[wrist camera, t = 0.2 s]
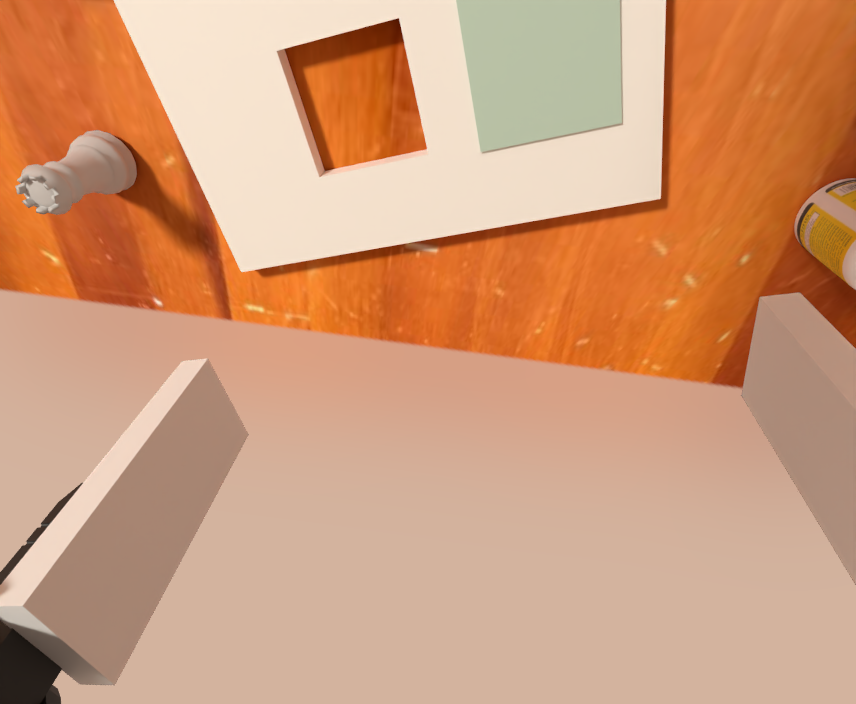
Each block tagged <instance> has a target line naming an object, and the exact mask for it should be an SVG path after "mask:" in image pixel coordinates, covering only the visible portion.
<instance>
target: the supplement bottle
mask: <svg viewBox="0 0 856 704" xmlns="http://www.w3.org/2000/svg"><path fill="white" fill-rule="evenodd" d="M794 231H795V235H796V238H797V240H798V242H799V243H800V244H801V245H802V246H803V247H804V248H805V249H806V250H807V251H808V252H810V253H811V254H812V255H813V256H814V257H815V258H817V259H818V260H819V261H820V262H821V263H823V264H824V265H825V266H826V267H827V268H829V269H830V270H831V271H832V272H834V273H835V274H836V275H837V276H839V277H840V278H841V279H842V280H844V281H845V282H846V283H847V284H848V285H849V286H851V287H852V288H854V289H855V290H856V178H848V179H842V180H838V181H835V182H832V183H830V184H828V185H826V186H824V187H822V188H821V189H819V190H818V191H816V192H815V193H814V194H813V195H812V196H810V197H809V198H808V199H807V201H806V202H805V203H804V204H803V206H802V207H801V209H800V210H799V212H798V214H797V217H796V219H795V224H794Z"/></svg>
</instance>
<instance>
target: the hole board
mask: <svg viewBox="0 0 856 704" xmlns="http://www.w3.org/2000/svg"><path fill="white" fill-rule="evenodd" d="M114 2H115V4H116V7H117V9H118V11H119V13H120V15H121V17H122V19H123V21H124V24H125V26H126V28H127V30H128V32H129V34H130V36H131V38H132V41H133V43H134V45H135V47H136V49H137V51H138V53H139V55H140V58H141V60H142V62H143V64H144V66H145V68H146V70H147V73H148V75H149V77H150V79H151V81H152V83H153V85H154V87H155V90H156V92H157V94H158V96H159V98H160V100H161V102H162V104H163V107H164V109H165V111H166V113H167V115H168V117H169V119H170V121H171V124H172V126H173V128H174V130H175V132H176V134H177V136H178V139H179V141H180V143H181V145H182V147H183V149H184V151H185V153H186V156H187V158H188V160H189V162H190V164H191V166H192V168H193V170H194V173H195V175H196V177H197V179H198V181H199V183H200V185H201V187H202V190H203V192H204V194H205V196H206V198H207V200H208V202H209V204H210V207H211V209H212V211H213V213H214V215H215V217H216V219H217V222H218V224H219V226H220V228H221V230H222V232H223V234H224V236H225V239H226V241H227V243H228V245H229V247H230V249H231V251H232V253H233V256H234V258H235V260H236V262H237V264H238V266H239V268H240V270H241V272H245V271H251V270H257V269H262V268H268V267H274V266H279V265H285V264H291V263H297V262H302V261H308V260H314V259H319V258H325V257H331V256H337V255H342V254H348V253H354V252H360V251H365V250H371V249H377V248H382V247H388V246H394V245H400V244H405V243H411V242H417V241H422V240H428V239H434V238H440V237H445V236H451V235H457V234H463V233H468V232H474V231H480V230H485V229H491V228H497V227H503V226H508V225H514V224H520V223H525V222H531V221H537V220H543V219H548V218H554V217H560V216H566V215H571V214H577V213H583V212H588V211H594V210H600V209H606V208H611V207H617V206H623V205H628V204H634V203H640V202H646V201H651V200H657V199H661V173H662V135H663V97H664V60H665V22H666V0H114ZM397 18H399V21H400V25H401V30H402V35H403V39H404V44H405V48H406V53H407V58H408V62H409V67H410V71H411V76H412V81H413V85H414V90H415V95H416V99H417V104H418V108H419V113H420V118H421V122H422V127H423V131H424V136H425V141H426V145H427V149H426V150H422V151H417V152H412V153H408V154H403V155H398V156H393V157H389V158H384V159H379V160H375V161H370V162H365V163H360V164H356V165H351V166H346V167H342V168H337V169H332V170H327V171H325V170H324V167H323V164H322V161H321V158H320V155H319V152H318V149H317V146H316V143H315V140H314V137H313V134H312V131H311V128H310V125H309V122H308V119H307V116H306V113H305V110H304V107H303V104H302V101H301V97H300V94H299V91H298V88H297V85H296V82H295V79H294V76H293V73H292V70H291V67H290V64H289V61H288V58H287V55H286V52H285V48H289V47H293V46H297V45H300V44H304V43H308V42H312V41H315V40H319V39H323V38H326V37H330V36H334V35H338V34H341V33H345V32H349V31H352V30H356V29H360V28H364V27H367V26H371V25H375V24H378V23H382V22H386V21H390V20H393V19H397Z"/></svg>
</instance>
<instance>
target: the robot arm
mask: <svg viewBox="0 0 856 704" xmlns="http://www.w3.org/2000/svg"><path fill="white" fill-rule="evenodd" d="M742 397H743V399H744V401H745V402H746V404H747V406H748V407H749V409H750V411H751V412H752V414H753V416H754V417H755V419H756V421H757V422H758V424H759V426H760V427H761V429H762V431H763V432H764V434H765V435H766V437H767V439H768V440H769V442H770V443H771V445H772V447H773V449H774V450H775V452H776V454H777V455H778V457H779V459H780V460H781V462H782V464H783V465H784V467H785V469H786V470H787V472H788V474H789V475H790V477H791V478H792V480H793V482H794V484H795V485H796V487H797V488H798V490H799V492H800V493H801V495H802V497H803V498H804V500H805V502H806V503H807V505H808V507H809V508H810V510H811V512H812V513H813V515H814V517H815V518H816V520H817V522H818V523H819V525H820V527H821V528H822V530H823V532H824V533H825V535H826V536H827V538H828V540H829V541H830V543H831V545H832V546H833V548H834V550H835V551H836V553H837V554H838V556H839V558H840V560H841V561H842V563H843V565H844V566H845V568H846V570H847V571H848V573H849V575H850V576H851V578H852V580H853V581H854V583H855V585H856V349H855V348H854V347H853V346H852V345H851V344H850V343H849V342H848V341H847V340H846V339H845V338H844V337H843V336H842V335H841V334H840V333H839V332H838V331H837V330H836V329H835V328H834V327H833V325H832V324H831V323H830V322H829V321H828V320H827V319H826V318H825V317H824V316H823V315H822V314H821V313H820V312H819V311H818V310H817V309H816V308H815V307H814V306H813V305H812V304H811V303H810V302H809V301H808V300H807V299H806V298H805V297H804V296H803V295H802V294H801V293H800V292H799V293H790V294H781V295H772V296H763V297H760V298H759V303H758V309H757V314H756V320H755V325H754V330H753V336H752V341H751V347H750V352H749V358H748V363H747V368H746V374H745V379H744V385H743V390H742ZM247 437H248V432H247V431H246V429H245V427H244V425H243V423H242V421H241V420H240V418H239V416H238V414H237V412H236V410H235V408H234V406H233V404H232V403H231V401H230V399H229V397H228V395H227V393H226V391H225V389H224V388H223V386H222V384H221V382H220V380H219V378H218V376H217V374H216V373H215V371H214V369H213V367H212V365H211V363H210V361H209V359H199V360H190V361H182V362H181V363H180V364H179V366H178V367H177V368H176V369H175V371H174V372H173V373H172V374H171V376H170V377H169V378H168V379H167V381H166V382H165V383H164V384H163V385H162V387H161V388H160V389H159V390H158V392H157V393H156V394H155V395H154V397H153V398H152V399H151V400H150V401H149V403H148V404H147V405H146V406H145V408H144V409H143V410H142V411H141V413H140V414H139V415H138V416H137V418H136V419H135V420H134V421H133V422H132V424H131V425H130V426H129V427H128V429H127V430H126V431H125V432H124V433H123V435H122V436H121V437H120V438H119V440H118V441H117V442H116V443H115V445H114V446H113V447H112V448H111V450H110V451H109V452H108V453H107V454H106V456H105V457H104V458H103V459H102V461H101V462H100V463H99V464H98V465H97V467H96V468H95V469H94V470H93V472H92V473H91V474H90V475H89V477H88V478H87V479H86V480H85V482H84V483H81V484H80V485H79V486H78V487H76V488H75V489H74V490H73V491H72V492H70V493H69V494H68V495H67V496H66V497H64V498H63V499H62V500H61V501H59V502H58V503H57V505H56V506H55V507H54V508H53V510H52V511H51V512H50V513H49V514H48V516H47V517H46V518H45V519H44V521H43V522H42V523H41V525H42V526H41V527H40V528H37V529H36V530H35V531H34V532H33V534H32V535H31V536H30V537H29V538H28V540H27V544H26V545H25V546H22V547H21V548H20V549H19V551H18V552H17V553H16V554H15V555H14V557H13V558H12V559H11V560H10V561H9V563H8V564H7V565H6V567H5V568H4V569H3V570H2V571H1V572H0V704H61V697H60V694H59V691H58V689H57V688H56V687H55V686H53V685H52V684H53V683H54V681H55V679H56V678H57V676H58V674H59V673H60V671H61V670H63V671H64V672H65V673H67V674H68V675H69V676H70V677H72V678H73V679H74V680H75V681H77V682H78V683H79V684H86V685H88V684H89V685H115V684H116V682H117V680H118V678H119V676H120V674H121V672H122V671H123V669H124V667H125V665H126V663H127V661H128V659H129V658H130V656H131V654H132V652H133V650H134V648H135V646H136V644H137V643H138V640H139V639H140V637H141V635H142V633H143V631H144V629H145V628H146V626H147V624H148V622H149V620H150V618H151V616H152V615H153V613H154V611H155V609H156V607H157V605H158V603H159V601H160V600H161V598H162V595H163V594H164V592H165V590H166V588H167V586H168V584H169V583H170V581H171V579H172V577H173V575H174V573H175V571H176V569H177V568H178V566H179V564H180V562H181V560H182V558H183V556H184V554H185V553H186V551H187V549H188V547H189V545H190V543H191V541H192V540H193V538H194V536H195V534H196V532H197V530H198V528H199V526H200V524H201V523H202V521H203V519H204V517H205V515H206V513H207V512H208V510H209V508H210V506H211V504H212V502H213V500H214V498H215V496H216V495H217V493H218V491H219V489H220V487H221V485H222V483H223V482H224V480H225V478H226V476H227V474H228V472H229V470H230V468H231V466H232V465H233V463H234V461H235V459H236V457H237V455H238V453H239V452H240V450H241V448H242V446H243V444H244V442H245V440H246V438H247Z"/></svg>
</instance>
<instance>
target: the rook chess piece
mask: <svg viewBox="0 0 856 704" xmlns="http://www.w3.org/2000/svg"><path fill="white" fill-rule="evenodd" d="M136 176H137V170H136V162H135V160H134V158H133V156H132V153H131V151H130V150H129V149H128V148H127V147H126V146H125V144H124V143H123V142H122V141H120V140H119V139H117V138H116V137H114V136H113V135H111V134H110V133H106V132H103V131H99V130H94V131H88V132H86V133H85V134H84V135H80V136H79V137H78V138H76V139H75V140H74V141H73V142H72V143H71V144H70V148H69V150H68V153H67V156H66V157H65V158H63V159H62V160H60V161H59V162H55V161H52V162H47V163H46V164H45V165H43V166H41V165H38V164H35V165H29V166H27V167H26V168H25V169H24V170H23V171H22V174H21V177H20V178H19V179H17V181H19V182H20V183H21V184H20V185H17V186H16V190H17V194H23V193H24V195H25V196H26V198H27V199H26V200H24V201H22V202H23V203H24V204H25V205H26V206H27V207H28V208H29V207H32V206H36V207H37V209H36V213H40V214H46V213H52V214H56V215H58V214H65V213H66V212H67V211H69V210H70V209H71V206H72V203H77V202H78V201H80V200H81V199H82V197H83V195H85V194H89V193H92V192H96V193H103V194H114V193H120V192H121V191H122V190H127V189H128V188H129V187H131V186H132V185H133V184H134V182H135V179H136Z"/></svg>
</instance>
